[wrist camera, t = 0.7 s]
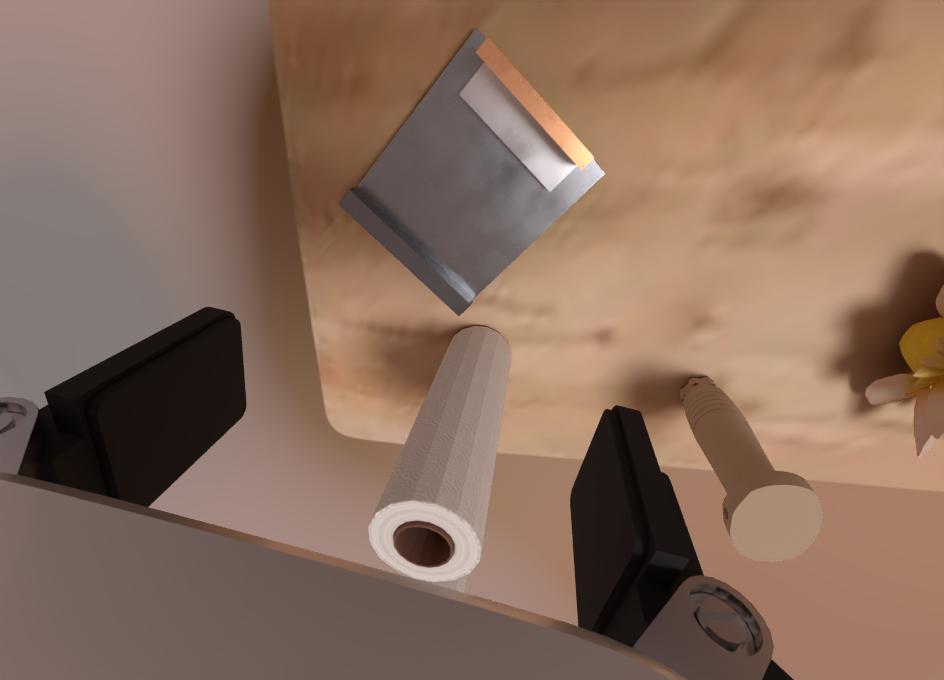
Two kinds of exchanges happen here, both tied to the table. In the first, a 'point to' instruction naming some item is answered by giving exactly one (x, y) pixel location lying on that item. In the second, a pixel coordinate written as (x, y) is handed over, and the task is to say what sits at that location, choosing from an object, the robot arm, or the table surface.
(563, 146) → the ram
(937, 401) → the decorative flower
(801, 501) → the handle
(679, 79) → the table surface
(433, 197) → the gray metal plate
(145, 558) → the robot arm
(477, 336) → the paper towel roll
